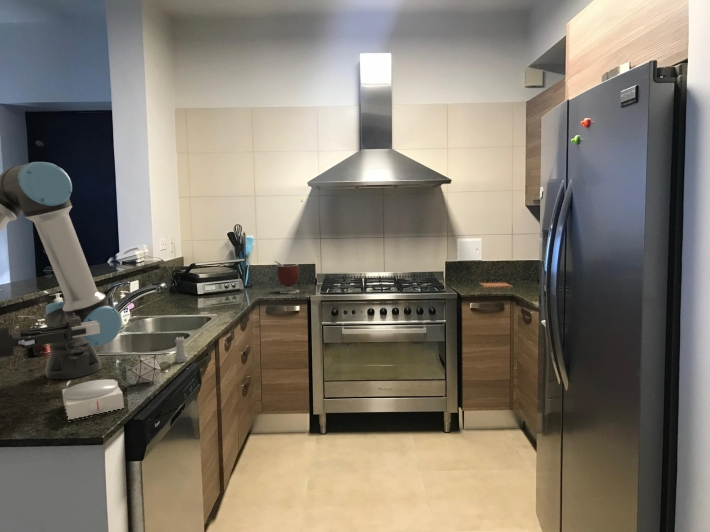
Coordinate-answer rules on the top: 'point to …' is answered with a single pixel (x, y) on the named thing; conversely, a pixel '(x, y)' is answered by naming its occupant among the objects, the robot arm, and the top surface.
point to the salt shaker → (77, 341)
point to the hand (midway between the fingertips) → (98, 326)
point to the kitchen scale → (92, 398)
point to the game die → (145, 369)
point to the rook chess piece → (180, 350)
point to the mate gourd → (288, 276)
